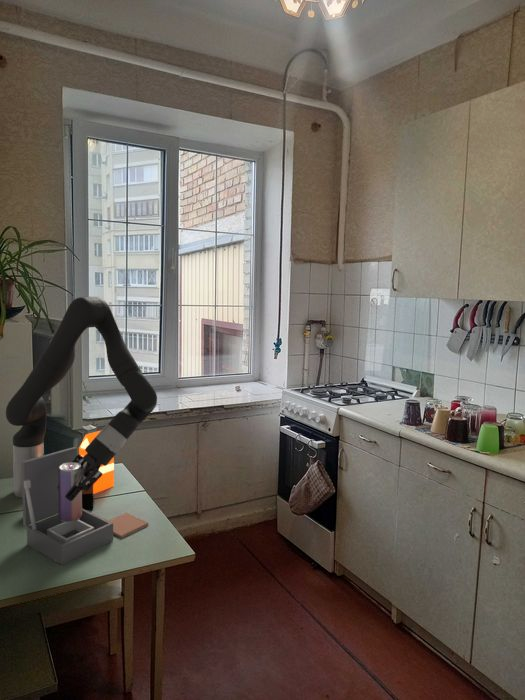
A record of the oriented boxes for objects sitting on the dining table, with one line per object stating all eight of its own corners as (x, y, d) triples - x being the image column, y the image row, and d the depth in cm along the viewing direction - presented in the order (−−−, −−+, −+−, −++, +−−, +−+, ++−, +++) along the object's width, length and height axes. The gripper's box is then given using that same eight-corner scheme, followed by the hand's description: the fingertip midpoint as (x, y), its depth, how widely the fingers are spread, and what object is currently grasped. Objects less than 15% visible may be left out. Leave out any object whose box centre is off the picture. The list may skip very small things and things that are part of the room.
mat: (99, 527, 148) (99, 524, 148) (126, 515, 156) (126, 512, 156) (121, 538, 142) (121, 535, 142) (148, 525, 150) (148, 522, 150)
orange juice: (78, 488, 174) (78, 432, 171) (100, 480, 181) (99, 426, 178) (93, 494, 169) (92, 437, 167) (114, 486, 177) (114, 431, 174)
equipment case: (23, 542, 138) (20, 461, 135) (75, 520, 151) (74, 446, 148) (61, 565, 128) (59, 479, 125) (113, 540, 141) (113, 461, 138)
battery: (93, 510, 158) (93, 479, 157) (70, 513, 156) (70, 482, 154) (92, 504, 162) (92, 474, 161) (70, 506, 160) (69, 476, 158)
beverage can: (59, 524, 135) (58, 471, 132) (58, 514, 140) (57, 463, 138) (82, 521, 137) (82, 469, 135) (81, 511, 142) (81, 461, 140)
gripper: (87, 430, 145) (45, 478, 140) (107, 444, 134) (62, 497, 129) (105, 444, 150) (64, 492, 144) (126, 459, 139) (83, 511, 133)
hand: (64, 494), depth 136 cm, fingers closed on beverage can, 6 cm apart
